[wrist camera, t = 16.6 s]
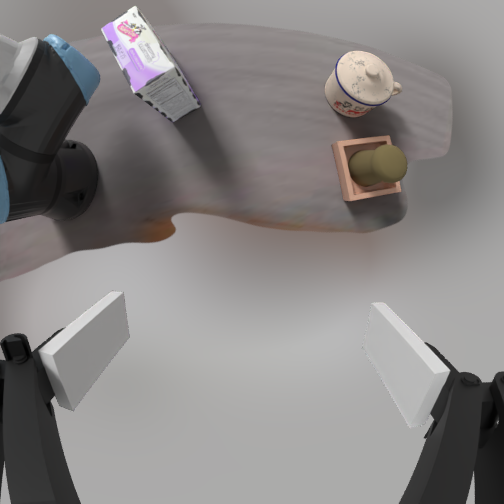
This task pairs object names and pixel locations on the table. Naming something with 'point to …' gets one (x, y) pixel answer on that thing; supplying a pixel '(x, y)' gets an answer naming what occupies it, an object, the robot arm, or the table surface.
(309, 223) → the table surface
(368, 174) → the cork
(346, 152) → the tray
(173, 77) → the candy box
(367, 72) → the teacup with lid
